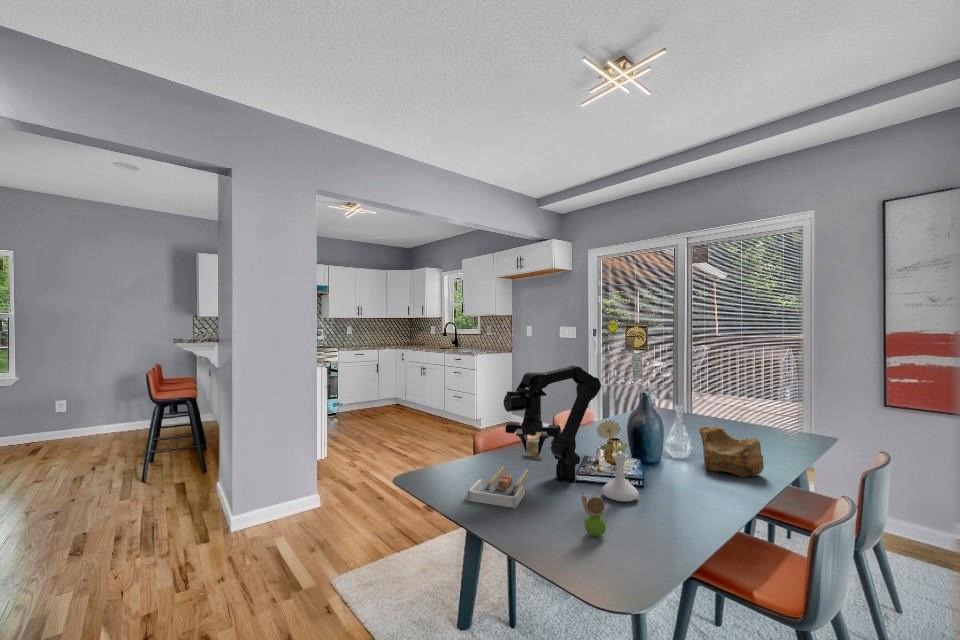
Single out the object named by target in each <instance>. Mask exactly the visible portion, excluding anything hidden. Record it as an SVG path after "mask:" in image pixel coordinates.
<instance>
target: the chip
mask: <svg viewBox="0 0 960 640" xmlns="http://www.w3.org/2000/svg"><path fill="white" fill-rule="evenodd" d="M497 486H498V487H497V490H500V491H508V490H509V488H510V486H509V479H505V478H502V477H501V478H500V479H499V480H498V481H497Z"/></svg>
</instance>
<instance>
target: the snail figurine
mask: <svg viewBox="0 0 960 640" xmlns="http://www.w3.org/2000/svg"><path fill="white" fill-rule="evenodd" d="M580 492H581V500H582V505H583V509H584V511H585V513H586V514H587V515H588V516H587V517H586V519H585V521H584V528H585V531H586V532H587V534H588V535H589V536H591V537H593V538H594V537H595V538H599V537H601V536H603V535H604V534H605V533H606V530H607V526H606V525H607V524H606V522H605V520H604V519H603V517H602V515H603V514H605V511H604V509H605V501H604V499H603V498H602V497H600V496H592V497H591V498H589V500H587V498H588V497H587V496H586V495H584V491H583V490H581V491H580Z"/></svg>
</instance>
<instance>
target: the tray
mask: <svg viewBox="0 0 960 640" xmlns="http://www.w3.org/2000/svg"><path fill="white" fill-rule="evenodd" d="M481 490H483V479H481V478H479V479H478V480H477V481H476V482H475V483H474V484H473V485H471V487H470V488H469V489H468V490H467V496H466V497H467V500H466V501H469V502H475V503H482V504H485V505H486V504H488V505H495V506H499V507H500V506H501V507H507V508H512V509H516V508H517V506H518V505H519V503H520V502H521V501H522V499H523V498H524V496H525V494H526V491H525V484H523V485H521V486H520V488H519V489H518V491H517V492H516V493H514V495H512V496H511V495H505V494H499V493H491V492H486V491H485V492H484V491H481Z"/></svg>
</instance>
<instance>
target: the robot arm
mask: <svg viewBox="0 0 960 640" xmlns="http://www.w3.org/2000/svg"><path fill="white" fill-rule="evenodd" d="M570 379H572V381H573V382H574V383H575V384H576V388H575V389H576V398H575V400H574V402H573V406H572V408H571V410H570V412H569V415H568V417H567V420H566V422H565V425H564V426H563V429H562V428H561V426H560V425H559V424H549V425H548V426H547V427H546V426H544V424H543V421H542V397H546V396H547V393H546V392H545V391H544V390H543V389H545V388H547V387H548V386H550V385H551V384H553V383H557V382H561V381H566V380H570ZM601 388H602V383H601V381H600V379H599V378H598V377H596V376H595V377H594V376H593V375H592V374H590V373H588V372H587V371H586V370H584V369H583V368H581V367H580V366H576V365H570V366H566V367H562V368H559V369H555V370H550V371H545V372H537V371H535V372H534V371H533V372H526V373H524V374H523V376H522V379H521V381H520V383H519V384H518V387H516V389H515V390H514V391H510V390H508V391H506V395H505V396H504V398H503V407H504V410H505V411H506V412H508V413H509V412H510V413H511V412H518V411H520V412H521V411H524V412H523V413H524V414H523V420H522V423H521V424H520V422H518V421H509V422H508V423H507V424H506V425H505V433H506V434H515V436H516V437H518V438H519V439H520V441H521V442H522V445H523V448H524V450H525V452H526V442H527V440H528V439H529V438H528V436H533V437H534V436H535V437H536V435H537V433H540V435H538V440H539V449H538V452H539V455H540V456H541V452H542V450H543V446H544V443H545V441H546V439H548V438H549V437H552V438H553V439H552V440H551V442H550V451H551V454H552V455H553V456H554V459H555V460H557V463H556V465H555V467H556V468H555V475H556V480H557V481H561V482H562V481H563V482H571V483H575V482H576V480H577V478H576V479H575V477H576V475H577V465H579V464H580V462H581V457H580V456H579V454H577V453H576V452H575V451H576V448H577V444H576V443H577V442H576V436H577V434H578V431H579V429H580V426H581V424H582V422H583V419H584V417H585V414H586V412H587V409H588V407H589V404H590V402H591V401H592V400H593V399H594V398H596V397H597V395H598V393H599V392H600V390H601ZM561 429H562V430H561Z"/></svg>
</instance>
